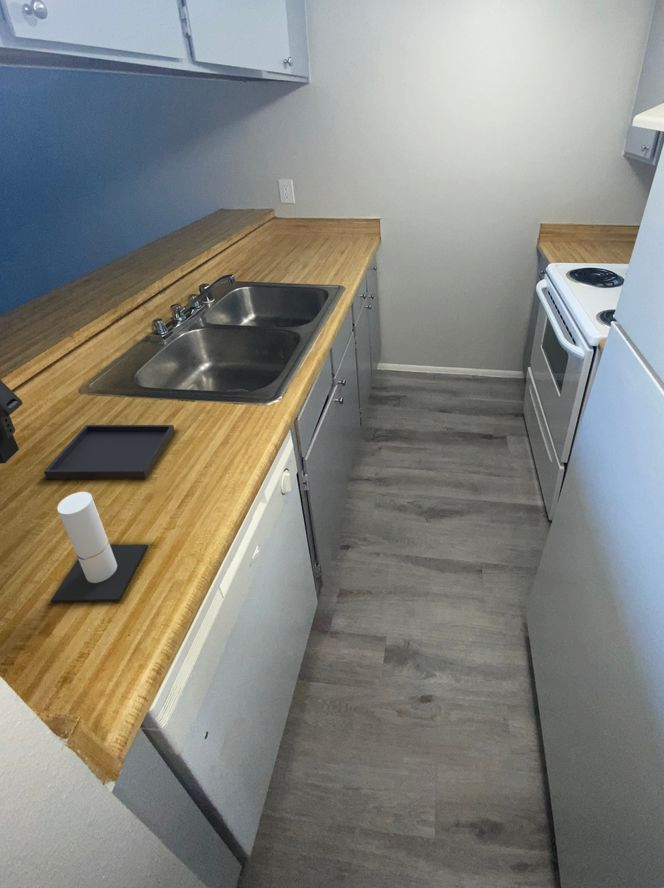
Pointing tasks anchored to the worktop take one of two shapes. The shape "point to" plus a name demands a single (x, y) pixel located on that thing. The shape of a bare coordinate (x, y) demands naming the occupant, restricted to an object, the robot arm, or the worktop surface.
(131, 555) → the mat
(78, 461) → the tray
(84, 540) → the tube
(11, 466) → the worktop surface
